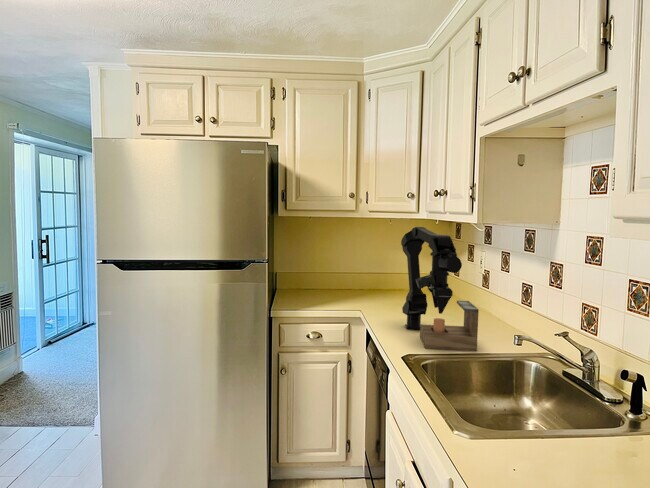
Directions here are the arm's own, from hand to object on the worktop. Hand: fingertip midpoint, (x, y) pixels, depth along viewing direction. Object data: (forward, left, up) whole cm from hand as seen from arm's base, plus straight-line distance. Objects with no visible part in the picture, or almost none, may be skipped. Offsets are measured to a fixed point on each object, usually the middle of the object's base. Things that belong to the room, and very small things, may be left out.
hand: (438, 310), depth 153 cm
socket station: (0, +4, -12) cm, 13 cm away
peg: (0, +1, -11) cm, 11 cm away
